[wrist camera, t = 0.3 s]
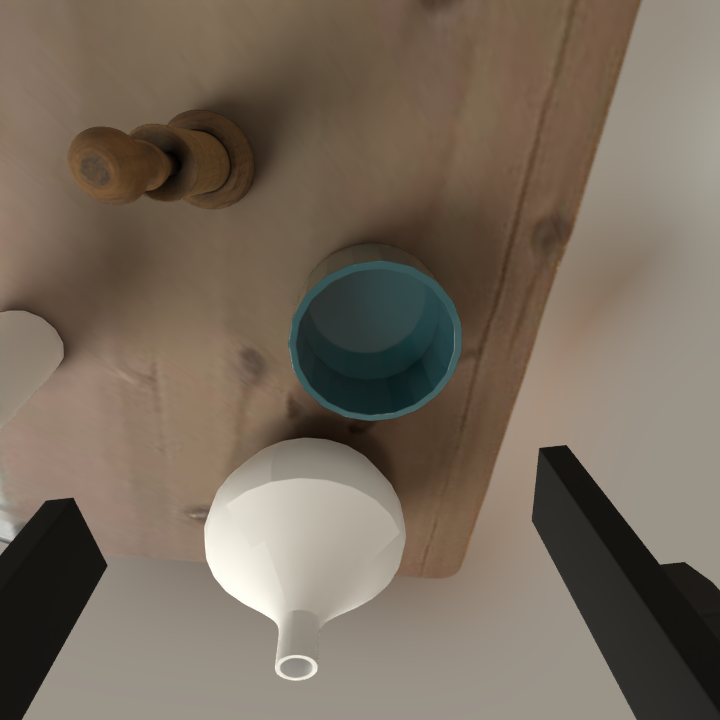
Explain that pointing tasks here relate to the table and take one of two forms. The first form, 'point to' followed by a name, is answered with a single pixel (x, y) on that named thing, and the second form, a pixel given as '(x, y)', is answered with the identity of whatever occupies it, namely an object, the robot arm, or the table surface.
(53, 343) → the foam cup
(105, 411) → the table surface
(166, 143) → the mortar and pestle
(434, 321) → the crock
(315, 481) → the vase
